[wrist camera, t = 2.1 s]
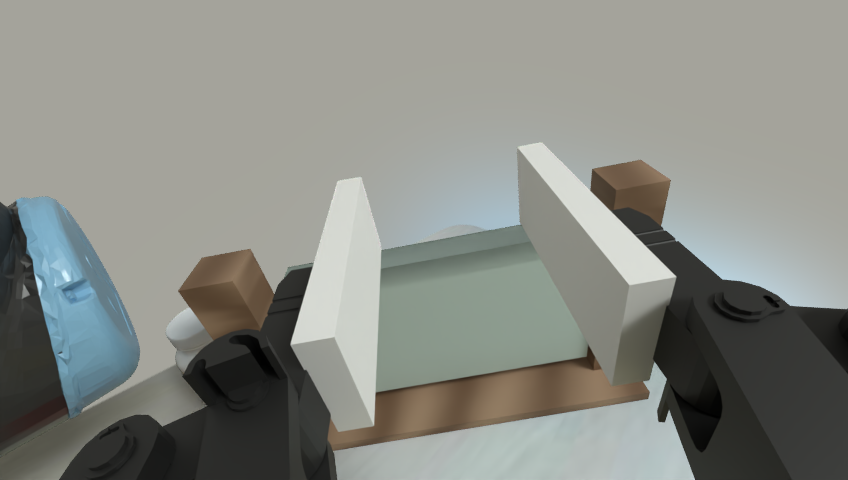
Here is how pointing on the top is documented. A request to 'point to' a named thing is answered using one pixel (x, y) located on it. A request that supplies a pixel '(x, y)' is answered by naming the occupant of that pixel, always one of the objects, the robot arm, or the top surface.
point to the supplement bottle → (187, 337)
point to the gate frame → (457, 398)
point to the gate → (468, 310)
